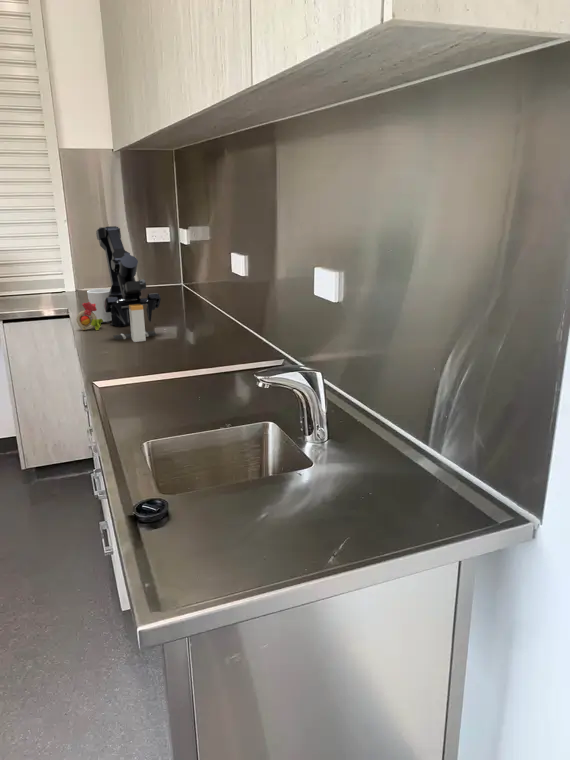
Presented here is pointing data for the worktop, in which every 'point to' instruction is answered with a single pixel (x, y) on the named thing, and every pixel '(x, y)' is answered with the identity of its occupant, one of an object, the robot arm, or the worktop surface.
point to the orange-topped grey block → (137, 322)
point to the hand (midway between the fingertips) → (138, 322)
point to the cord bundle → (125, 336)
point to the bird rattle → (85, 319)
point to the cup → (100, 303)
